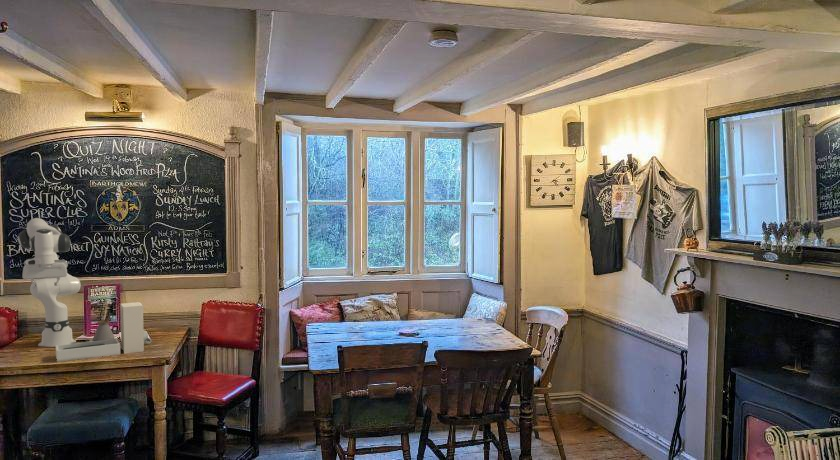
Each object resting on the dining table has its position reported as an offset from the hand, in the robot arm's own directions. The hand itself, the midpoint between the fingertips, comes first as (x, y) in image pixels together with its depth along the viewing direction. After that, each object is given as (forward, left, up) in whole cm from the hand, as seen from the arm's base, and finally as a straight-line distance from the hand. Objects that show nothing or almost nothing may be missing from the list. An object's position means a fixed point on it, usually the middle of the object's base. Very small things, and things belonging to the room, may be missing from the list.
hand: (45, 286), depth 322 cm
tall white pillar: (+2, +41, -39) cm, 57 cm away
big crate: (+2, +19, -39) cm, 43 cm away
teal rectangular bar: (+2, +17, -38) cm, 42 cm away
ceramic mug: (-11, +48, -39) cm, 63 cm away
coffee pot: (-29, +31, -39) cm, 58 cm away
